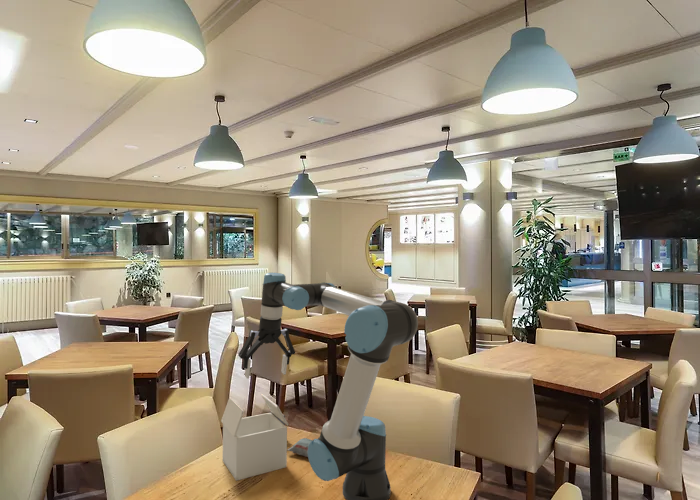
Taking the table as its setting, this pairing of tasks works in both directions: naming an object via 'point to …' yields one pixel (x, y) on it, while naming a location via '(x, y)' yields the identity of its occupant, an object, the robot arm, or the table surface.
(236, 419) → the flap left
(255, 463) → the carton
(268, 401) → the flap right
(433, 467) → the table surface
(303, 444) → the packaged food
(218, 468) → the table surface
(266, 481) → the table surface
